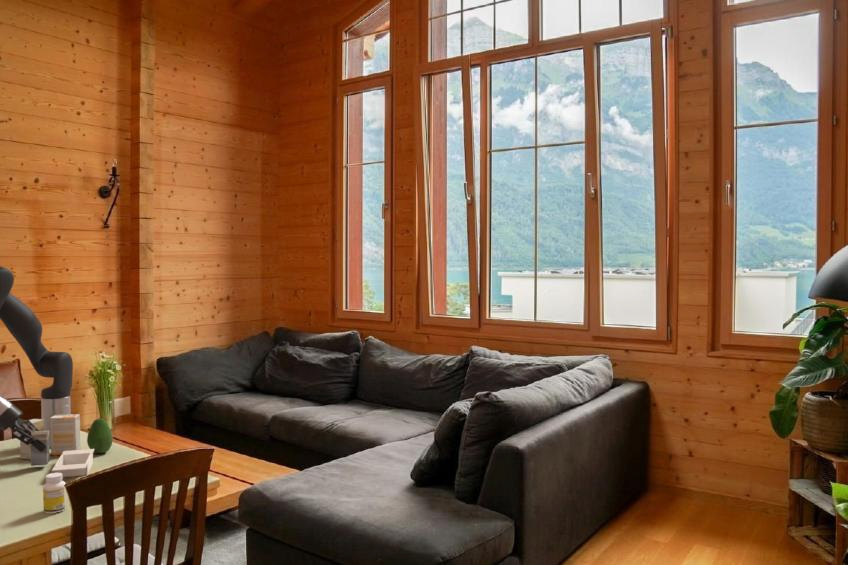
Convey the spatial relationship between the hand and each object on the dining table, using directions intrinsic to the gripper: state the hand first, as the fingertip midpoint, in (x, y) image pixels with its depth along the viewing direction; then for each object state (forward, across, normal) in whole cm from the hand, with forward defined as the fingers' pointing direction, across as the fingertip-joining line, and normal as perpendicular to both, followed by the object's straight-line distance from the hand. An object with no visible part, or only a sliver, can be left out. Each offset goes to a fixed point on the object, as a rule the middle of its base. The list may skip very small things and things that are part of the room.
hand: (45, 447), depth 225 cm
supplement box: (+7, +15, +2) cm, 17 cm away
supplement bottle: (+12, -42, -2) cm, 44 cm away
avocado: (+15, +12, -6) cm, 20 cm away
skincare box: (0, +14, +9) cm, 17 cm away
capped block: (+3, 0, +5) cm, 5 cm away
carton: (+11, -6, -2) cm, 12 cm away
